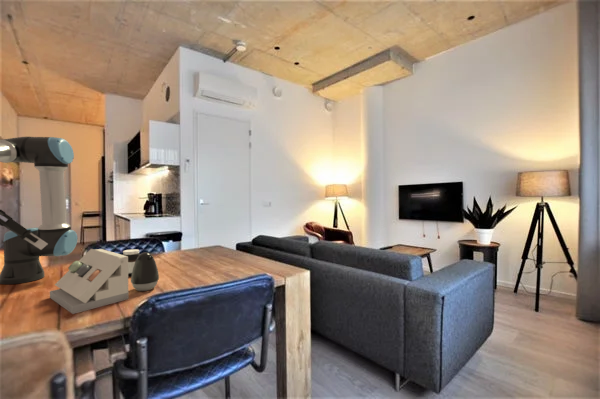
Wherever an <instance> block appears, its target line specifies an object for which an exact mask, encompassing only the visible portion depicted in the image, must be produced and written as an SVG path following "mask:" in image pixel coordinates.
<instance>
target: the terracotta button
mask: <svg viewBox="0 0 600 399" xmlns="http://www.w3.org/2000/svg"><path fill="white" fill-rule="evenodd" d="M100 272H101V271H99V270H96V271H95V272H93V273H92V274H91V275H90V277H89V280H90V281H93V280H94V278H95V277H96V276H97V275H98V274H99V273H100Z"/></svg>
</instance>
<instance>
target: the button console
mask: <svg viewBox="0 0 600 399" xmlns="http://www.w3.org/2000/svg"><path fill="white" fill-rule="evenodd" d="M78 261H79V262H80V263H82V264H87V265H88V266H89V267H91V269H90V270H89V271H88V272H87V273H86V274H85V275H84V276H83V277H82V276H80V275H79V274H77V273H76V272H75V273H73V272H72V271H70V270H69V269H68V271H67V272H66V273H65V274H64V275H63V276H62V277H61V278H60V279H59V280H58V281H56V283H55V284H54V286H56V287H57V288H59V289H53V290H49V298H50V299H51V300H52V301H54V302H55V303H56V304H57V305H60V306H61V307H62V308H64V309H65V310H67V311H68V312H69V313H70V314H72V315H74V314H78V313H82V312H85V311H90V310H93V309H96V308H102V307H105V306H107V305H111V304H115V303H119V302H122V301H125V300H126V301H127V300H129V276H128V256H124V255H123V254H120V253H117V252H113V251H110V250H106V249H103V248H99V249H93V248H90V249H89V250H88V251H87V252H86V253H85V254H84V255H83V256H82V257H81V258H80V259H79V260H78ZM96 270H99V271H101V272H100V273H99V274H98V275H97V276H96V277H95V278H94V280H93V281H90V280H89V277H90V275H91V274H92V273H93V272H95V271H96Z"/></svg>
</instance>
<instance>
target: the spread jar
mask: <svg viewBox="0 0 600 399" xmlns="http://www.w3.org/2000/svg"><path fill="white" fill-rule="evenodd" d="M122 253H123V254H122V255H124V256H128V277H131V276H132V271H133V267H134V264H135V261H136V259H137V258H138V256H139V255H140V254H141V253H140V250H139V249H126V250H123V251H122Z"/></svg>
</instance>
